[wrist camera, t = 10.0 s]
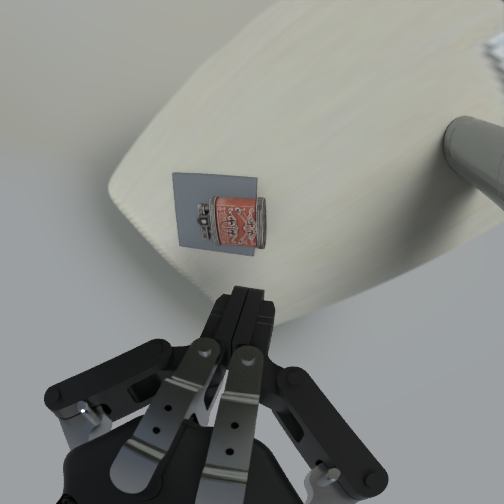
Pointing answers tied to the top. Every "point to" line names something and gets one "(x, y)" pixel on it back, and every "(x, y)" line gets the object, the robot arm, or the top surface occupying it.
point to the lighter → (234, 221)
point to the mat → (200, 191)
